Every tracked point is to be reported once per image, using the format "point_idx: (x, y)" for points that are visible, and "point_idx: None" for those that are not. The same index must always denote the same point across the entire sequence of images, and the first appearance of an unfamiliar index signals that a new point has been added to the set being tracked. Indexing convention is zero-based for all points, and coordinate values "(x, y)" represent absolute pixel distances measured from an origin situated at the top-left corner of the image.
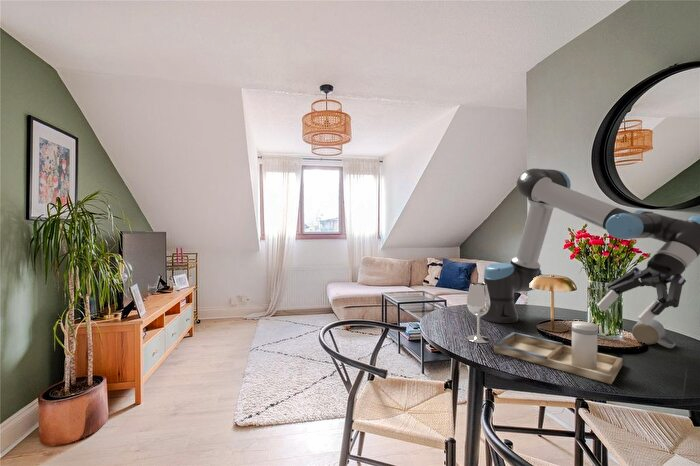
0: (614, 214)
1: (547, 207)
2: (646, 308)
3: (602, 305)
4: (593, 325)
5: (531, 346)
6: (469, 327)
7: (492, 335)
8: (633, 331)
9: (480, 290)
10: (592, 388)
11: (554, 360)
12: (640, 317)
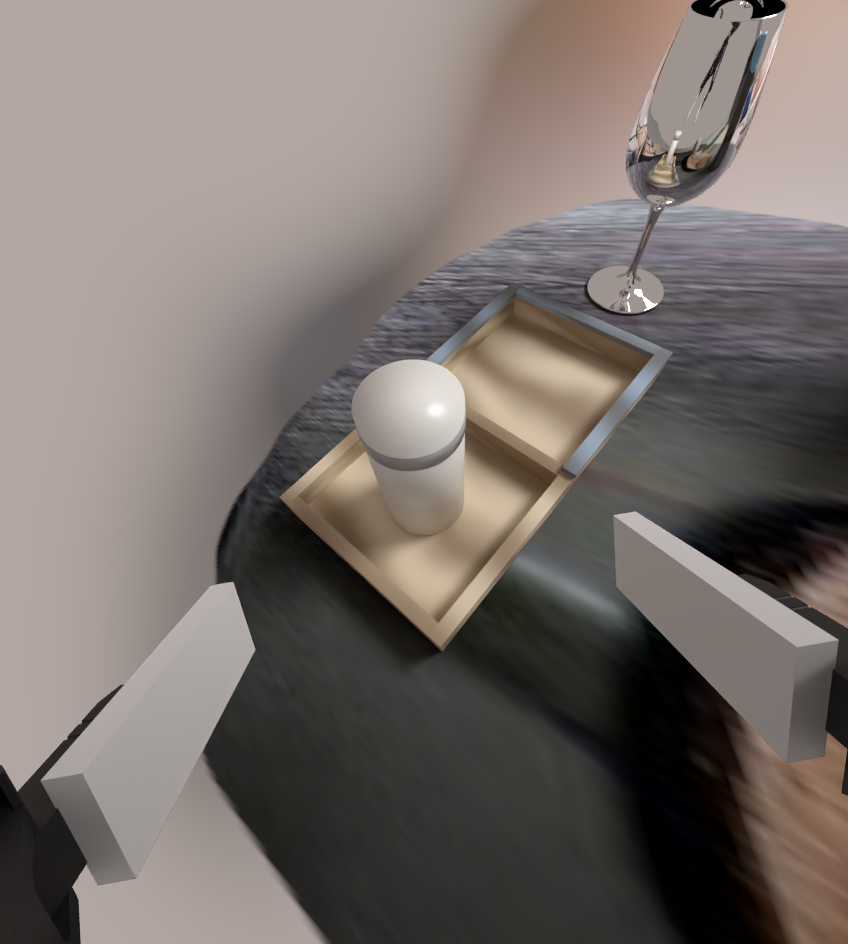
0: None
1: None
2: (173, 652)
3: (628, 550)
4: (387, 430)
5: (588, 405)
6: (764, 283)
7: (692, 330)
8: None
9: (672, 48)
10: (285, 455)
11: None
12: (209, 590)
